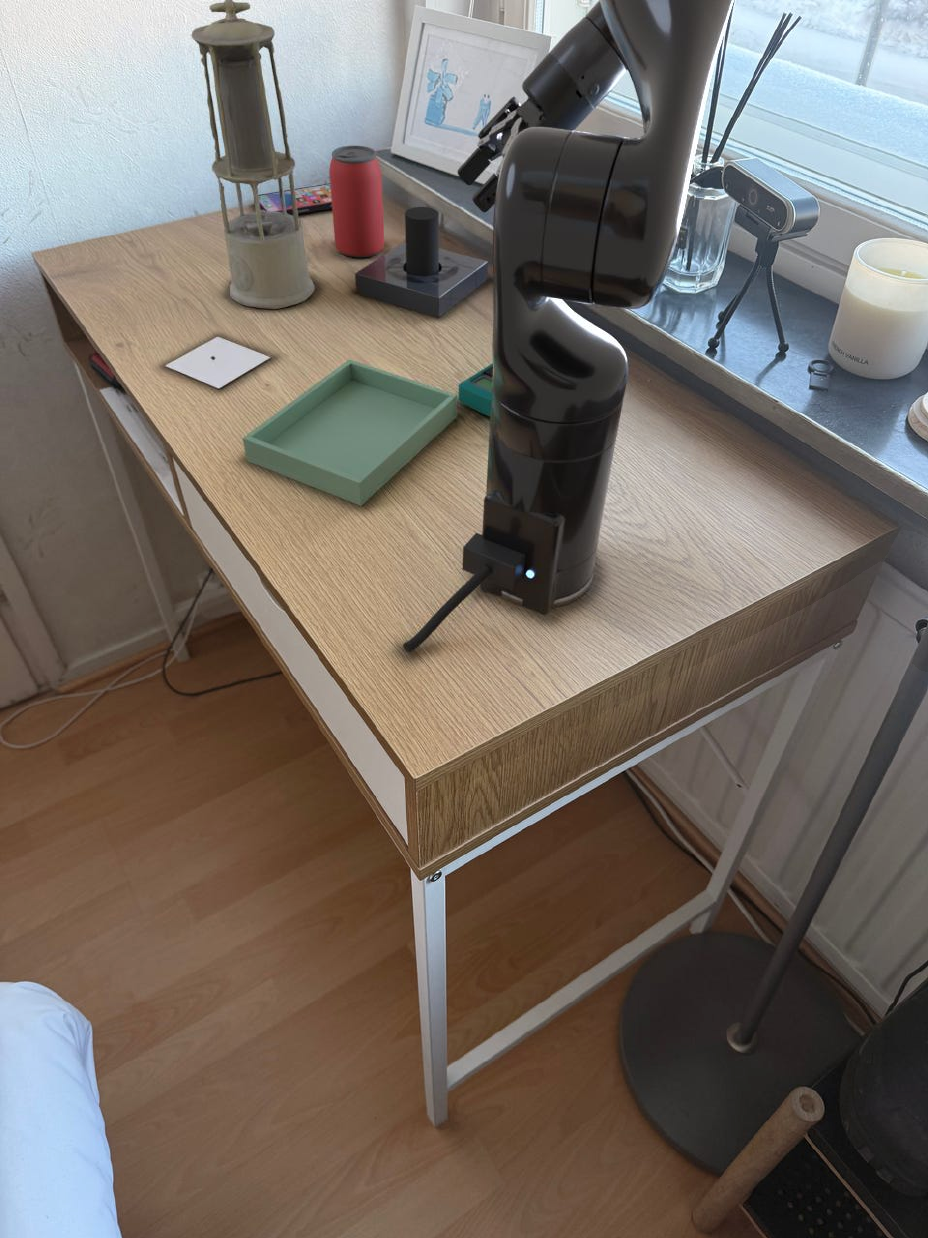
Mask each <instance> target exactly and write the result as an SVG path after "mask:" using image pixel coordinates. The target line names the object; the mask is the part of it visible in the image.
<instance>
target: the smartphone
mask: <svg viewBox="0 0 928 1238" xmlns="http://www.w3.org/2000/svg"><path fill="white" fill-rule="evenodd" d="M294 189H295V195H296V203H297V211H298V215H300V214H307V213H313V212H318V211H324V210H330V209H331V210H332V199H331V186H330V182H329V183H324V184H317V185H311V186H304V187H298V188H294ZM283 191H284V197H285V208H286V213H287V214H289V215H292V216H293V209H292V199H291V191H290V189H287V190H283ZM258 196H259V204H260V210H265V211H273V212H282V207H281V198H280V191H279V190H278V191H274V192H268V193H267V192H266V193H262V194H258ZM253 203H254V204H255V201H254V200H253Z"/></svg>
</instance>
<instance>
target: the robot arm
mask: <svg viewBox="0 0 928 1238" xmlns="http://www.w3.org/2000/svg"><path fill="white" fill-rule="evenodd" d="M734 1H735V0H598V1H597V2H596V3H595V4H594V6H592V8H591V9H590V10H589V11H588V12H587V13H586V14H585V16H584V17H582V19H580V21H578V22H577V23H576V24H575V25H574V26H573V27H572V28H570V29H569V30H568V31H567V32H566V33H565V34H564V35H563V36H562V38H560V40H559V41H558V42H557V43H556V44H555V45H554V47H552V49H551V50H550V51H549V52H548V54H546V56H545V57H544V58H543V59H542V60H541V61H540V63H538V65H537V66H536V67H534V69H533V70H532V71H531V73H530V74H529V75H528V76H527V77H526V78H525V79H524V80H523V82H522V85H521V88H522V89H521V90H522V91H523V93H524V94H525V95H526V96H527V99H526V100H525V101H524V102H523V103H522V104H521V102H520V101H519V100H518V99H517V97H516V96H512V97H511V98H510V99H509V100H508V101H507V102H506V103H505V104H504V105H503V106H502V108H500V110H498V112H497V113H496V114H495V115H494V116H493V117H492V118H491V119H490V120H489V122H488V123H486V125H485V126H484V127H483V128H482V129H481V130H479V132H478V135H477V137H478V138H479V141H478V143H477V145H476V147H477V148H476V149H475V150H474V151H473V152H472V153H471V154H470V156H469V157H468V158H467V159H466V160H464V161H463V163H462V165H460V166H459V168H458V169H457V171H456V172H457V175H458V177H459V178H460V180H462V181H463V182H464V184H466V185H467V186H471V185H472V184H474V183H475V182H476V180H477V179H478V178H479V177H480V176H481V175H482V174H483V173H484V172H485V170H486V169H487V168H488V167H489V166H490V165H491V164H492V162H493V161H495V160H497V159H498V158H500V157H502V159H501V162H500V164H499V165H498V167H497V169H496V171H495V173H493V174H492V175H491V176H490V177H489V178H488V179H487V180H486V181H485V182H484V183H483V185H482V186H480V188H479V189H477V191H476V192H475V193H474V194H473V196H472V203H474V205H475V206H476V207H477V208H478V209H479V210H480V211H481V212H482V213H487V212H488V211H490V209H491V208H492V207H493V216H492V218H493V221H492V226H493V227H492V278H493V280H492V282H493V283H492V284H493V289H492V290H493V291H492V292H493V295H492V297H493V299H492V301H493V302H492V305H493V307H492V309H493V310H492V311H493V312H492V315H493V316H492V341H491V342H492V344H491V356H492V363H493V379H492V399H491V417H489V431H488V432H489V435H488V450H487V451H488V453H487V470H486V471H487V473H486V488H485V489H486V491H485V496H484V499H483V510H482V512H483V513H482V528H481V529H482V530H481V533H479V532H475V533H474V534H473V535H472V536H471V537H470V539H468V541H467V542H466V543H465V544H464V545H463V547H462V568H461V569H462V571H464V572H468V573H470V574H471V575H472V577H471V578H469V579H468V580H467V581H466V582H465V583H464V584H463V585H462V586H461V587H460V588H459V589H458V590H457V591H456V592H455V593H454V594H453V595H452V596H451V597H450V598H449V599H447V601H445V603H444V604H443V605H442V606H441V607H440V608H439V609H438V610H437V611H436V612H435V613H434V614H433V615H432V616H431V617H430V619H429V620H428V621H427V622H426V623H425V625H423V627H422V628H421V629H420V630H419V631H418V632H417V633H416V634H415V635H413V637H411V638H410V639H409V640H408V641H406V642H404V643H403V644H402V646H403V649H404V650H405V652H407V653H411V652H413V651H415V650H416V649H418V648H419V647H420V646H421V645H422V644H423V643H424V642H425V641H427V640H428V639H429V637H430V636H431V635H432V634H433V633H434V632H435V630H436V629H437V628H438V627H439V626H440V625H441V624H442V623H443V622H444V620H445V619H446V618H448V616H449V615H450V614H451V613H452V612H454V610H455V609H456V608H457V607H458V606H460V604H461V603H462V602H464V600H465V599H466V598H467V597H468V596H469V595H470V594H472V593H473V592H474V591H475V590H476V589H477V588H478V587H479V589H480V590H482V591H484V592H488V593H490V594H492V595H493V596H496V597H498V598H501V599H504V600H505V601H508V602H510V603H513V604H514V605H518V606H520V607H523V608H526V609H527V610H531V611H532V612H535V613H538V614H540V615H543V616H547V615H548V614H550V612H551V610H553V609H554V608H557V607H561V606H565V605H568V604H570V603H572V602H575V601H576V600H578V599H579V598H581V597H582V596H583V595H584V594H586V593H587V591H589V588H590V587H591V585H592V583H593V580H594V574H595V568H596V567H595V563H596V557H597V552H598V545H599V540H600V532H601V527H602V522H603V515H604V511H605V505H606V499H607V493H608V487H609V482H610V475H611V469H612V464H613V459H614V454H615V447H616V442H617V437H618V431H619V427H620V426H619V425H620V421H621V415H622V409H623V403H624V398H625V395H626V388H627V382H628V377H629V361H628V356H627V353H626V351H625V350H624V348H623V347H622V345H621V344H620V343H619V342H618V340H617V339H615V337H613V336H612V335H611V333H608V332H607V331H605V330H604V329H602V328H601V327H599V326H597V325H595V324H594V323H592V322H591V321H590V320H587V319H586V318H584V317H583V316H582V315H580V314H579V313H578V312H576V311H575V310H574V309H572V307H570V305H568V303H566V301H567V302H573V303H574V302H575V303H580V304H584V305H585V304H586V305H595V306H599V307H604V308H611V309H620V310H638V309H641V308H643V307H645V306H647V305H649V304H650V303H651V302H652V301H653V299H655V297H656V296H657V295H658V293H659V291H660V289H661V287H662V285H663V283H664V281H665V279H666V276H667V274H668V271H669V268H670V266H671V263H672V260H673V256H674V254H675V250H676V246H677V243H678V238H679V233H680V229H681V225H682V219H683V215H684V211H685V205H686V201H687V195H688V190H689V186H690V181H691V177H692V176H691V175H692V171H693V166H694V160H695V155H696V151H697V145H698V141H699V136H700V131H701V125H702V122H703V121H702V120H703V116H704V112H705V106H706V101H707V97H708V93H709V88H710V83H711V79H712V75H713V72H714V68H715V65H716V61H717V57H718V54H719V51H720V48H721V45H722V41H723V37H724V33H725V31H726V27H727V23H728V20H729V17H730V14H731V10H732V7H733V3H734ZM627 71H628V74H629V76H630V78H631V81H632V84H633V87H634V89H635V93H636V97H637V101H638V105H639V109H640V114H641V119H642V128H643V135H642V136H640V137H629V136H627V137H625V136H621V135H614V134H613V135H612V134H604V133H597V132H589V131H582V130H576V129H577V128H578V127H579V126H580V125H581V123H582V122H584V120H585V119H587V117H588V116H589V115H590V114H591V113H592V112H593V111H594V110H595V109H596V108H597V106H599V104H600V103H601V102H602V101H603V100H605V98H606V97H607V96H608V95H609V94H610V93H611V92H612V90H613V89H614V88H615V87H616V86H617V84H618V82H619V81H620V80H621V78H622V77H623V76H624V75H625V73H626V72H627Z"/></svg>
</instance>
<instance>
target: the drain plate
mask: <svg viewBox="0 0 928 1238" xmlns="http://www.w3.org/2000/svg"><path fill="white" fill-rule="evenodd" d="M488 267H489V262H488V260H484V259H480V258H476V257H473V256H469V255H465V254H461V253H458V252H455V251H450V250H447V249H444V248H443V249H442V248H439V272H438V273H437V274H434V275H430V276H415V275H412V274H409V273H407V272H406V240H405V241H404V242H402V243H401V244H399V245H398V246H396V247H395V248H392V249H391V250H390V251H388V252H386V253H385V254H383V255H381V256H379V258H376V259H375V260H374V261H372V262H370V263H369V264H368V265H366V266H365V267H363V268H361V269H360V270H358V271H357V272H355V273H354V279H355V292H356V294H358V295H362V296H365V297H369V298H371V299H375V300H377V301H381V302H385V303H387V304H392V305H396V306H399V307H401V308H405V309H408V310H411V311H415V312H419V313H421V314H425V315H429V316H432V317H436V318H437V319H438V318H440V317H442V316H443V315H444V314H446V313H447V312H448V311H450V310H451V309H453V308H454V307H455V306H456V305H457V304H459V303H460V302H462V301H463V300H464V299H465V298H467V297H468V296H469V295H470V294H472V293H473V292H475V290H477V289H478V288H479V287H481V286H482V285H483V284H484V283H485V282H487V281H488Z"/></svg>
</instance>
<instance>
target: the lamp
mask: <svg viewBox="0 0 928 1238" xmlns="http://www.w3.org/2000/svg"><path fill="white" fill-rule="evenodd" d="M250 9H251V4H250V3H249V2H246V1H245V2H239V1H237V2H236V1H234V0H224V1H223V2H215V3H212V4H210V5H209V10H210V12H211V13H225V14H226V15H225V17H224V18H222V19H218V20H215V21H213V22H211V23H210V24H206V25H203V26H199V27H197V28H194V29H193V30H192V32H191V38H192V40H194V41H195V43H197V45H198V49H199V53H200V55H201V57H202V58H201V60H200V61H201V64H202V65H203V71H204V72H203V73H204V78H205V79H204V80H205V84H206V92H207V95H206V97H207V98H206V102H207V103H206V105H207V107H208V114H209V125H210V131H211V136H212V138H213V141H214V151H215V152H214V159H215V160H214V162H213V163H212V164H211V171H212V172H213V173H214V174H215V176H216V178H217V183H218V190H219V200H220V210H221V214H222V215H221V216H222V221H223V228H224V229H223V232H224V239H225V244H226V245H225V246H226V250H227V258H228V263H229V264H228V265H229V271H230V277H231V283H230V285H229V296H230V298H231V299H232V300H234V301H235V302H237V303H238V304H240V305H243V306H246V307H250V308H259V309H270V310H277V309H282V308H283V309H284V308H286V307H290V306H295V305H297V304H300V303H302V302H305V301H306V300H308V298H310V297H311V296H312V295H313V293H314V291H315V290H316V287H315V285H314V281H313V280H312V277H311V276H310V273H309V264H308V258H307V253H306V252H307V251H306V245H305V239H304V228H303V224H302V221H301V220H300V218H299V214H298V211H297V203H296V195H295V189H296V188H295V181H294V175H293V173H294V169H295V167H296V160H295V159H294V158H293V157H292V156H291V151H290V146H289V143H288V133H287V124H286V123H287V122H286V115H285V109H284V108H285V107H284V103H283V102H284V101H283V96H282V92H281V89H280V85H279V84H280V83H279V78H278V74H277V68H276V60H275V55H274V53H275V48H274V43H273V39H274V37H275V33H276V32H275V29H274V28H273V27H272V26H269V25H266V24H262V23H258V22H254V21H249V20H247V19H245V18H238V16H237V14H239V13H242V12H245V11H249V10H250ZM263 48H265V49H267V51H268V55H269V60H270V65H271V71H272V78H273V82H274V88H275V94H276V100H277V107H278V112H279V118H280V126H281V132H282V140H283V145H284V153H283V152H281V151H276V149H275V144H274V139H273V134H272V133H273V132H272V124H271V119H270V112H269V107H268V100H267V95H266V86H265V81H264V77H263V68H262V67H263V66H262V62H261V60H262V54H261V53H260V51H261V49H263ZM207 54H209V56H210V61H211V67H212V73H213V83H214V92H215V98H216V104H217V112H218V119H219V125H220V131H221V136H222V142H223V147H224V148H223V149H224V155H223V156H221V150H220V143H219V142H220V141H219V135H218V128H217V121H216V115H215V114H216V113H215V108H214V100H213V96H212V91H211V83H210V82H211V81H210V74H209V68H208V56H207ZM283 177H288V182H289V190H290V191H291V199H292V209H293V215H289V214H287V213H286V208H285V197H284V191H285V190H284V184H283V183H284V182H283V179H282V178H283ZM221 179H223V180H225V181H228V182H229V183H232V184H234V185H235V189H236V195H237V196H236V197H237V203H238V208H239V209H238V210H239V215H238V216H236V217H234V218H232V219H230V220H229V217H228V216H229V215H228V210H227V204H226V197H225V185H223V182H222V181H221ZM271 180H275V181H276V180H277V182H278V183H277V184H278V192H279V191H280V198H281V207H282V212H273V211H265V210H260V204H259V196H258V195H259V188H258V186H259V184H260V185H261V184H263V183H265V182H269V181H271ZM241 184H244V185H249V186H250V188H251V191H252V195H253V202H254V201H255V203H254V207H255V211H253V212H248V213H245V212H244V204H243V195H242V194H243V193H242V189H241Z"/></svg>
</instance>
